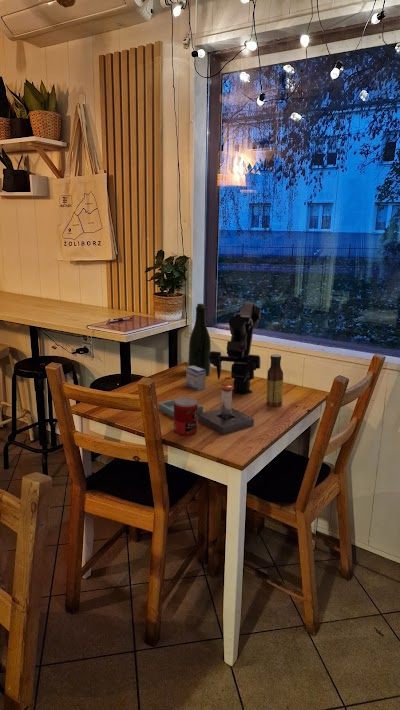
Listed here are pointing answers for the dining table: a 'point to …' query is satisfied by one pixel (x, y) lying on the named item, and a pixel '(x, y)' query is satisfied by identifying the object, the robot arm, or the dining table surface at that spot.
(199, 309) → the wine bottle
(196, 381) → the medicine box
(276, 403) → the sauce bottle
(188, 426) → the canned food
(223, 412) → the hitch pin
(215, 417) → the block
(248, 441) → the dining table surface
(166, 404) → the tray
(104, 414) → the dining table surface
